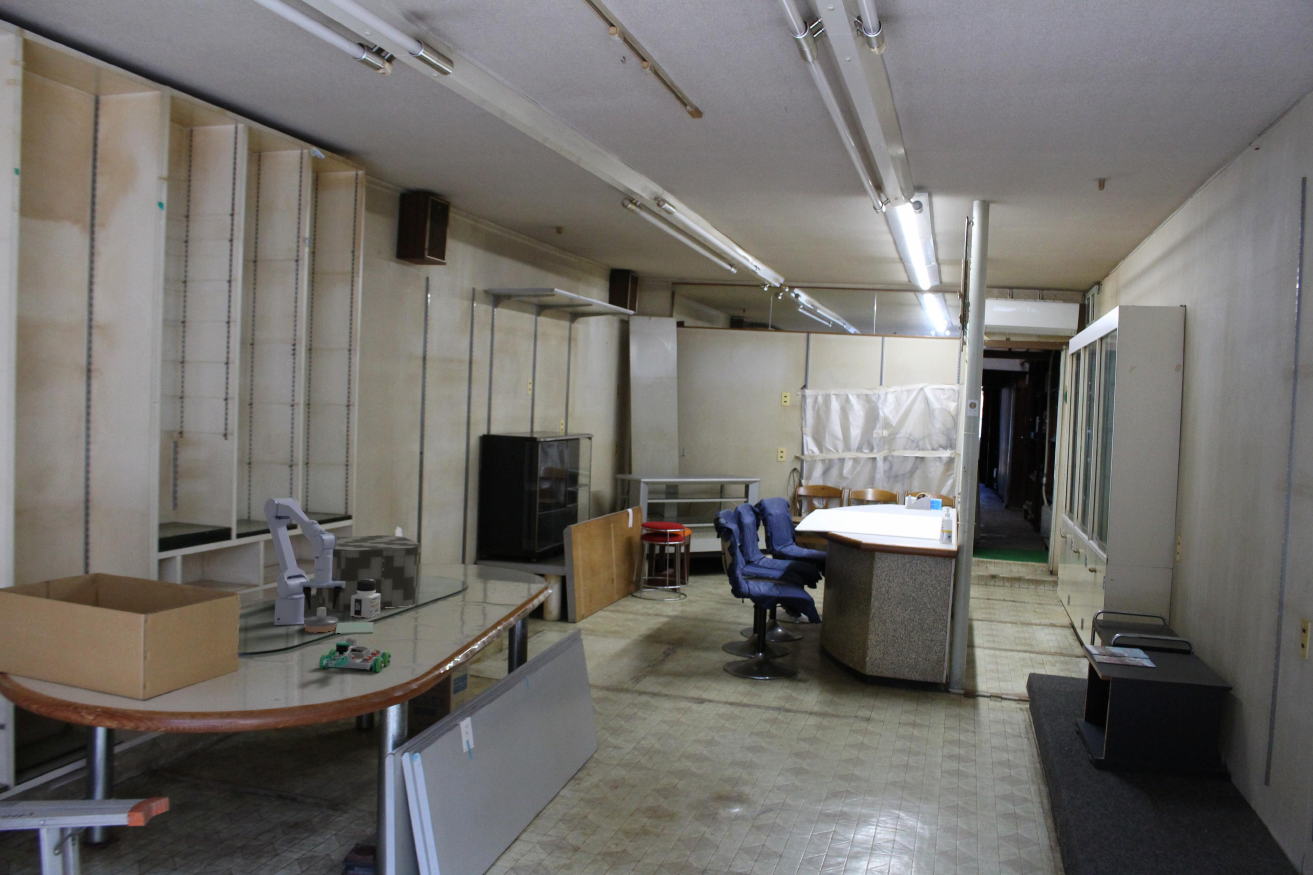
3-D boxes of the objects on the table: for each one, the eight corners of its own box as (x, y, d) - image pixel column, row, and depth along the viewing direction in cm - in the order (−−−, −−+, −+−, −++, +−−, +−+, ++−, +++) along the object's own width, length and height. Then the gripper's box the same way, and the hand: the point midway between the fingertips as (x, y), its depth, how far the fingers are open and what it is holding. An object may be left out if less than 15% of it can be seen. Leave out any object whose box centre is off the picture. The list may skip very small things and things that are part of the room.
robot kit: (299, 682, 248) (300, 649, 248) (335, 658, 273) (336, 627, 273) (365, 686, 247) (366, 653, 247) (395, 662, 272) (396, 631, 272)
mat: (335, 634, 300) (335, 632, 300) (337, 624, 314) (337, 622, 314) (372, 633, 304) (372, 631, 304) (373, 623, 317) (373, 622, 317)
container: (369, 618, 324) (370, 582, 324) (350, 616, 326) (351, 581, 325) (380, 614, 332) (381, 579, 331) (361, 612, 333) (362, 577, 333)
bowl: (304, 633, 300) (304, 625, 300) (307, 626, 309) (307, 619, 309) (334, 632, 302) (335, 625, 302) (336, 625, 311) (336, 618, 311)
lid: (302, 626, 299) (302, 611, 298) (305, 618, 309) (305, 604, 309) (337, 625, 302) (337, 611, 302) (339, 618, 312) (339, 604, 312)
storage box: (425, 606, 349) (427, 547, 348) (332, 613, 329) (335, 551, 329) (396, 589, 378) (398, 534, 377) (309, 595, 358) (311, 537, 358)
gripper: (299, 571, 299) (297, 611, 299) (345, 570, 303) (343, 610, 304) (301, 567, 306) (299, 607, 306) (346, 567, 310) (344, 606, 310)
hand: (321, 608), depth 305 cm, fingers open, 7 cm apart
